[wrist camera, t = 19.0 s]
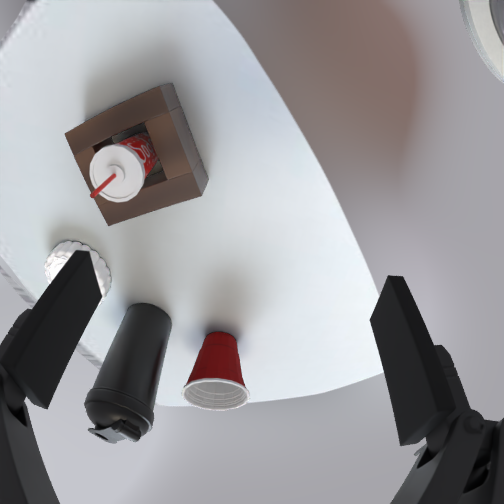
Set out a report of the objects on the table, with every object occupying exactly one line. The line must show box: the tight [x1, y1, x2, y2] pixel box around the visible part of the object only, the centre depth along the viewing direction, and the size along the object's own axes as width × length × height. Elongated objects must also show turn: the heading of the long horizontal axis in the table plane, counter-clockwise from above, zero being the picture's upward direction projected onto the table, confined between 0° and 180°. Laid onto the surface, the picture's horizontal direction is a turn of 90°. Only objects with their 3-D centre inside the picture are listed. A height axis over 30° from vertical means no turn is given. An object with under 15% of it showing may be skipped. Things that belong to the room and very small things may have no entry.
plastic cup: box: [181, 332, 250, 410], centre depth 50 cm, size 11×11×12 cm
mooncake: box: [45, 241, 111, 305], centre depth 45 cm, size 12×12×4 cm
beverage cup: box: [89, 132, 159, 202], centre depth 30 cm, size 6×6×14 cm
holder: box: [65, 83, 209, 226], centre depth 34 cm, size 13×13×5 cm
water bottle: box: [84, 303, 172, 443], centre depth 43 cm, size 10×10×23 cm
